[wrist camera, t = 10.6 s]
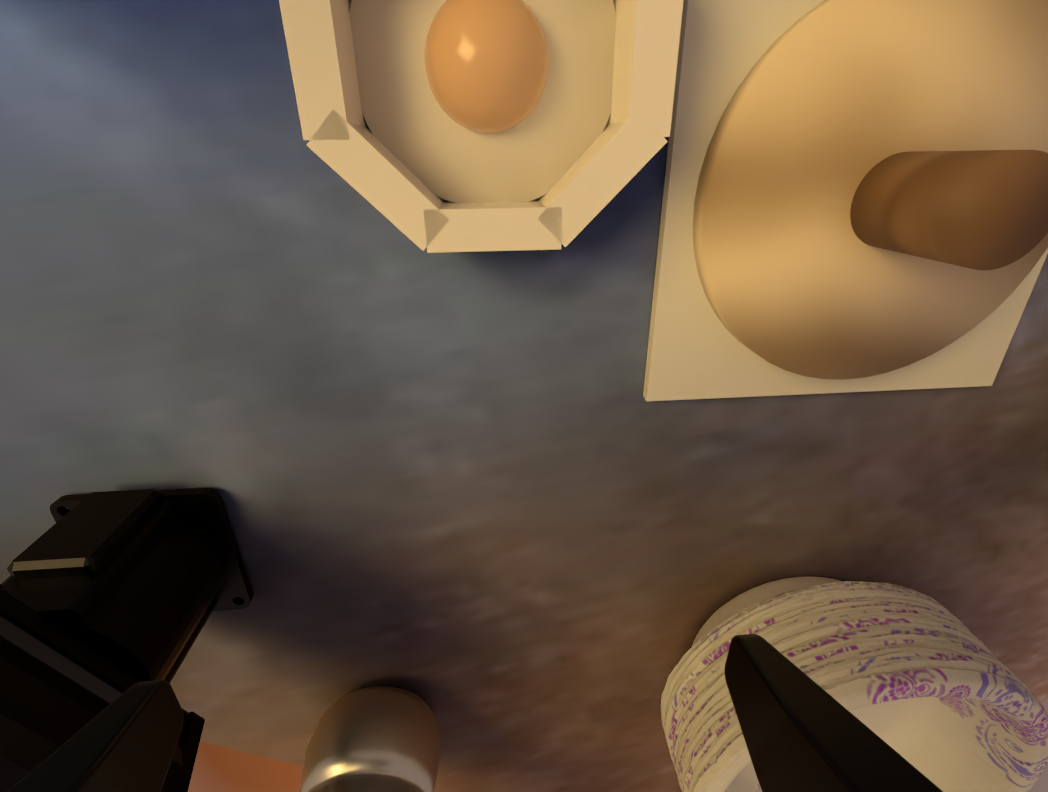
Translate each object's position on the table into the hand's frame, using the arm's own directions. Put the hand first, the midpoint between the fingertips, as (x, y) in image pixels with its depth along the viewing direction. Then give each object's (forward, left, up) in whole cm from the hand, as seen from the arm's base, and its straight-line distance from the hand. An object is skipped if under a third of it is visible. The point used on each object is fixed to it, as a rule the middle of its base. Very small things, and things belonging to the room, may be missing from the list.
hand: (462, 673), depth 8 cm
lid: (+6, -14, -12) cm, 20 cm away
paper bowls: (-17, -16, -13) cm, 27 cm away
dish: (+10, -1, -13) cm, 16 cm away
